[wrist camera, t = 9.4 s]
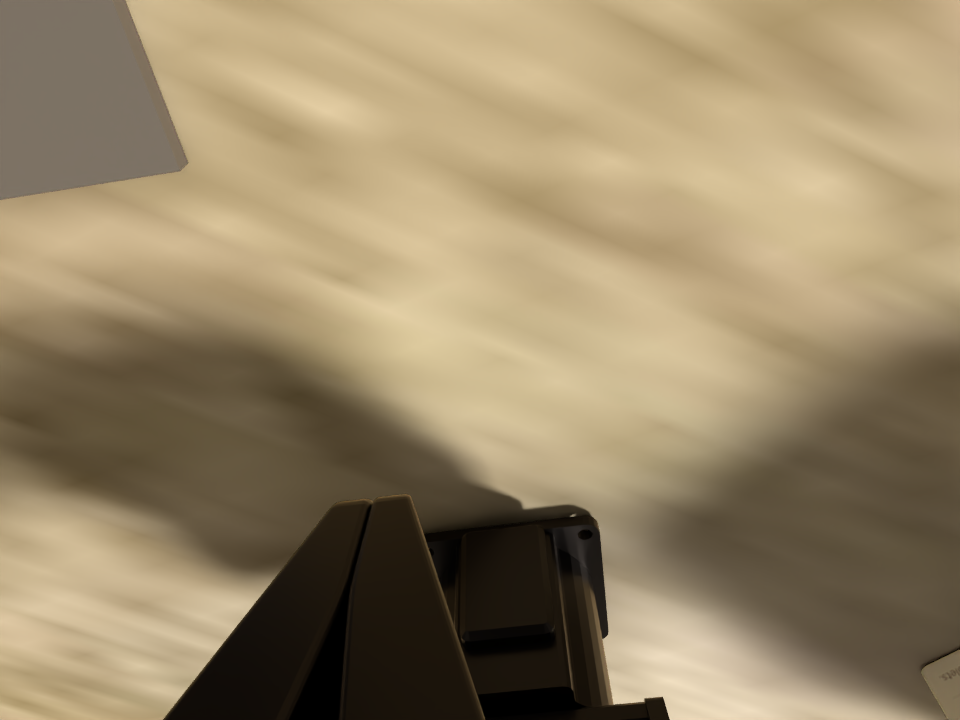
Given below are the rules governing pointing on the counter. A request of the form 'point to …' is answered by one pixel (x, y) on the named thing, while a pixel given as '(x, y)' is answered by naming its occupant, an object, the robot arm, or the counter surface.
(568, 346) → the counter surface
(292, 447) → the counter surface
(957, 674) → the supplement box
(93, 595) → the counter surface
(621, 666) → the counter surface
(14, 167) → the rubber mat
